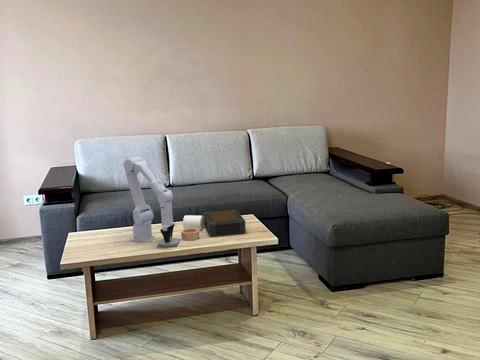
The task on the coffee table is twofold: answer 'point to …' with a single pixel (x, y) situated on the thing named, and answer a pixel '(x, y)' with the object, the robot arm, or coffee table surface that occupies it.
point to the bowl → (190, 234)
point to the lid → (172, 242)
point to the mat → (169, 246)
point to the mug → (193, 222)
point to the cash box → (224, 223)
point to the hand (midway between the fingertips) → (168, 240)
